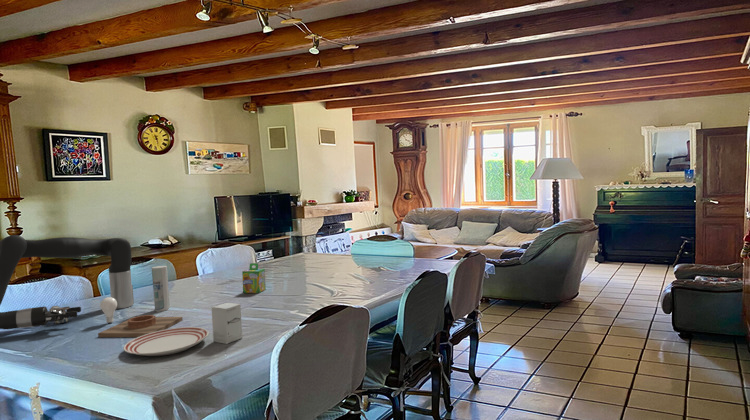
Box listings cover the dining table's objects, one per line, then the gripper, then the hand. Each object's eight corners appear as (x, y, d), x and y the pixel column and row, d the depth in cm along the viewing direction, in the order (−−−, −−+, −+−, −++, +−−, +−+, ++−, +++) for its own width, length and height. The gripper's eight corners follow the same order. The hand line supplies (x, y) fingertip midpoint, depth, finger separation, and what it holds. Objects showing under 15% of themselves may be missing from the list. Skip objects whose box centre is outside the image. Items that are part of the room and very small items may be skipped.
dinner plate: (124, 368, 151) (123, 357, 151) (123, 344, 175) (123, 335, 175) (215, 350, 163) (214, 340, 163) (203, 330, 188) (202, 322, 188)
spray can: (151, 311, 222) (148, 267, 221) (162, 307, 228) (159, 265, 227) (162, 311, 220) (159, 268, 219) (173, 308, 226) (170, 265, 225)
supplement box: (227, 344, 169) (224, 308, 168) (212, 341, 173) (210, 306, 172) (243, 338, 175) (241, 303, 174) (229, 335, 179) (227, 302, 178)
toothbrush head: (60, 304, 228) (68, 305, 209) (61, 318, 228) (69, 321, 209) (47, 306, 225) (53, 308, 206) (48, 321, 224) (55, 324, 205)
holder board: (134, 320, 207) (133, 311, 206) (182, 320, 204) (181, 310, 203) (98, 337, 185) (97, 326, 185) (151, 336, 182) (151, 326, 182)
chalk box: (242, 293, 251) (241, 265, 250) (250, 289, 260) (248, 262, 259) (259, 293, 249) (257, 264, 249) (266, 289, 258) (264, 261, 258)
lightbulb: (105, 321, 208) (103, 296, 207) (121, 320, 208) (119, 295, 208) (98, 325, 201) (96, 299, 201) (114, 324, 202) (112, 298, 201)
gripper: (26, 312, 187) (75, 306, 194) (36, 304, 201) (81, 299, 207) (28, 331, 188) (76, 324, 194) (37, 322, 201) (82, 316, 207)
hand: (79, 311), depth 200 cm, fingers open, 8 cm apart
